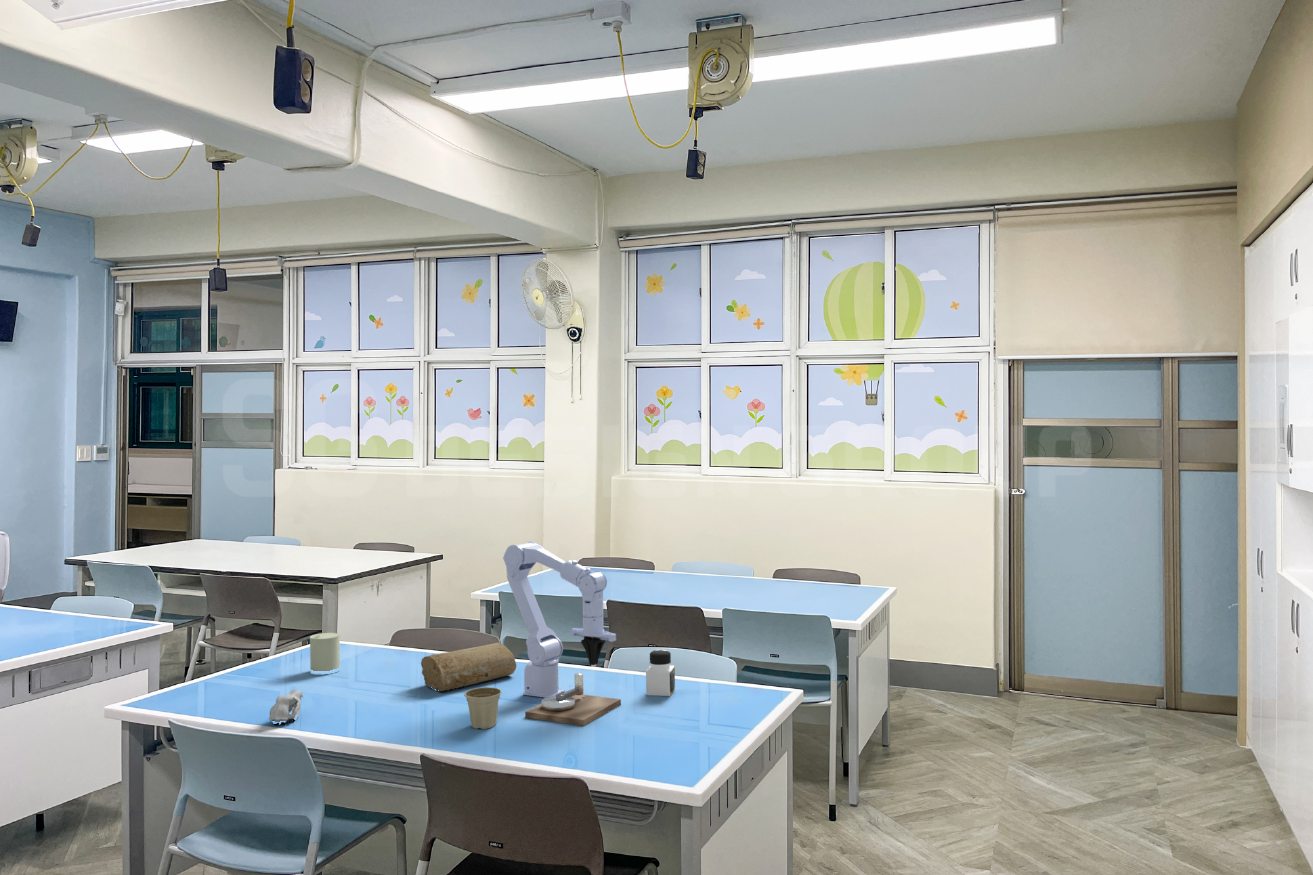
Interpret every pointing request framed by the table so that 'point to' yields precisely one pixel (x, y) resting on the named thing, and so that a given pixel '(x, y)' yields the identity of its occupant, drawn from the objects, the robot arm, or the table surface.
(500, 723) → the table surface
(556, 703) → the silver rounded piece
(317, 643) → the can
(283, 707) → the skull
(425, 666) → the core sample
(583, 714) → the stand board
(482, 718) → the flower pot
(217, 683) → the table surface
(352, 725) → the table surface
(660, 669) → the medicine bottle
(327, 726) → the table surface
